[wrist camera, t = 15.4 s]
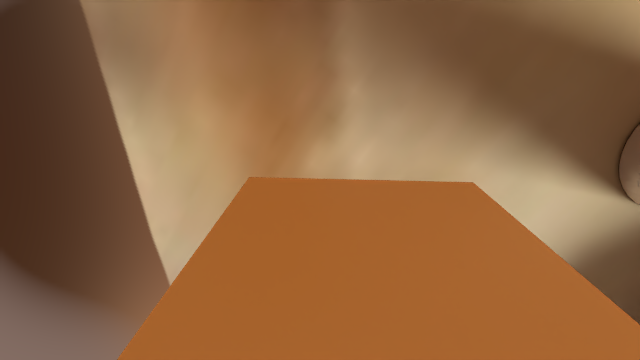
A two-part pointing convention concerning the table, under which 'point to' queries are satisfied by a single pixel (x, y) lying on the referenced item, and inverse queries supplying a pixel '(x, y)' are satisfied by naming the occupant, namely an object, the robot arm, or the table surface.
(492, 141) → the table surface
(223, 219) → the orange block
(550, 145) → the table surface
